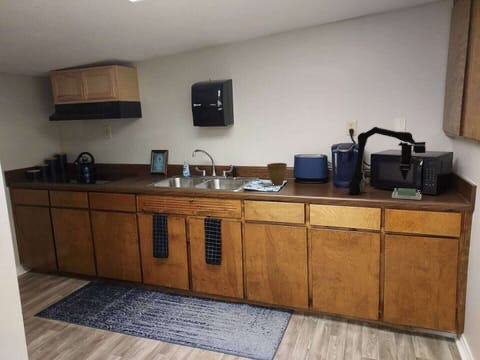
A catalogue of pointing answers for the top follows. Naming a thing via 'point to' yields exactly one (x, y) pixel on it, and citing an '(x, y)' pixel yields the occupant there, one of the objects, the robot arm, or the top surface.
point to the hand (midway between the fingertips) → (405, 178)
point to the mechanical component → (364, 182)
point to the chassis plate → (418, 196)
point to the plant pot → (277, 172)
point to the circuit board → (406, 192)
